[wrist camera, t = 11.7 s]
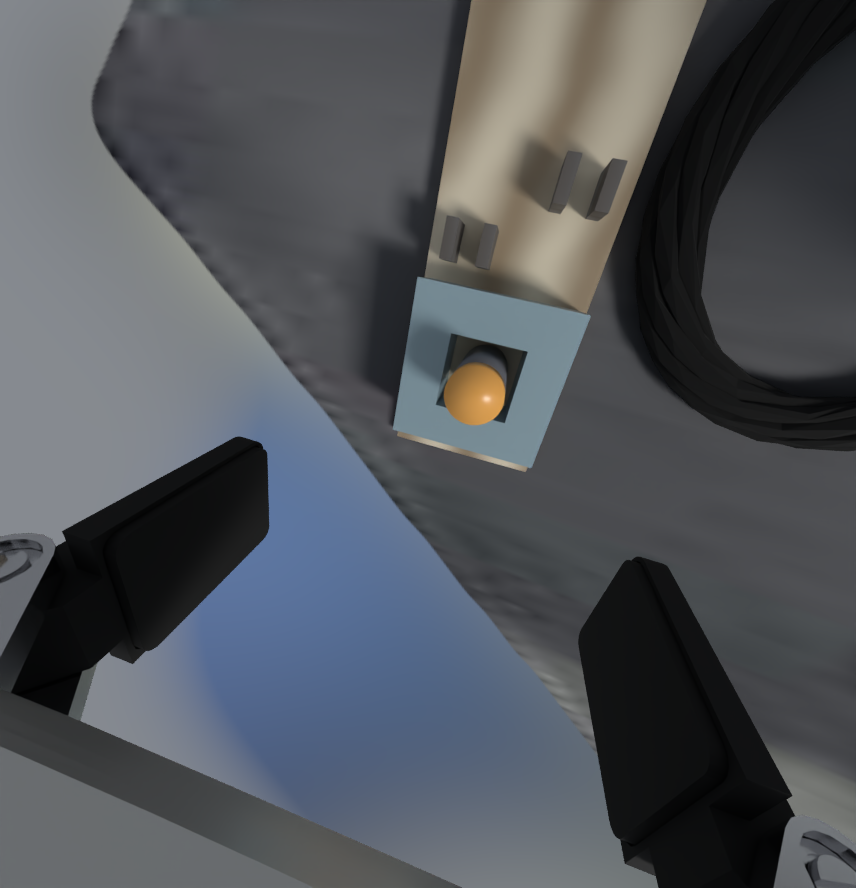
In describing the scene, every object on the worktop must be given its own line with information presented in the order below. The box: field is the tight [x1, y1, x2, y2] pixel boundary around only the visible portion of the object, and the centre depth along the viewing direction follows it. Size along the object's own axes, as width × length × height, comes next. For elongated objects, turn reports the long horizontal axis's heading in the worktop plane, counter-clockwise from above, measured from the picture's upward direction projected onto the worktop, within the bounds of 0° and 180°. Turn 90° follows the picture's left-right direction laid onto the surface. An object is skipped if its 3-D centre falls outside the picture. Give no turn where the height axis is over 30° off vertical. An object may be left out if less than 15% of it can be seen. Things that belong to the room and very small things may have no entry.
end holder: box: [393, 277, 591, 468], centre depth 26 cm, size 11×11×4 cm
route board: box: [397, 0, 707, 472], centre depth 22 cm, size 12×36×4 cm, turn 169°
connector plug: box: [444, 345, 508, 425], centre depth 24 cm, size 4×4×8 cm
